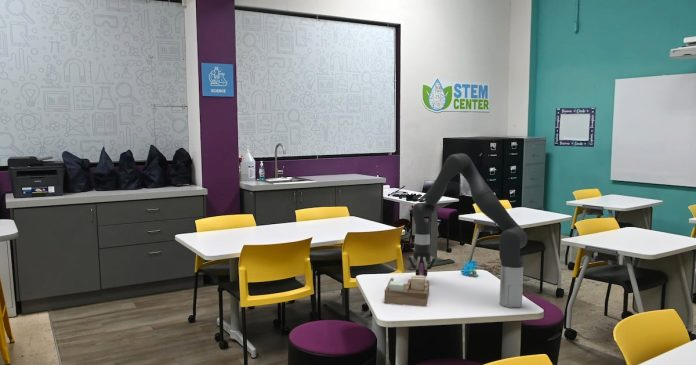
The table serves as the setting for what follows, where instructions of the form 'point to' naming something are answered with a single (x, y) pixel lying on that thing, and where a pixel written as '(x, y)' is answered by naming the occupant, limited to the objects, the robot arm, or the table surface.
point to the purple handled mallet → (418, 279)
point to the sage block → (396, 286)
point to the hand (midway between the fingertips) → (421, 276)
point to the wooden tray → (407, 295)
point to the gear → (469, 268)
